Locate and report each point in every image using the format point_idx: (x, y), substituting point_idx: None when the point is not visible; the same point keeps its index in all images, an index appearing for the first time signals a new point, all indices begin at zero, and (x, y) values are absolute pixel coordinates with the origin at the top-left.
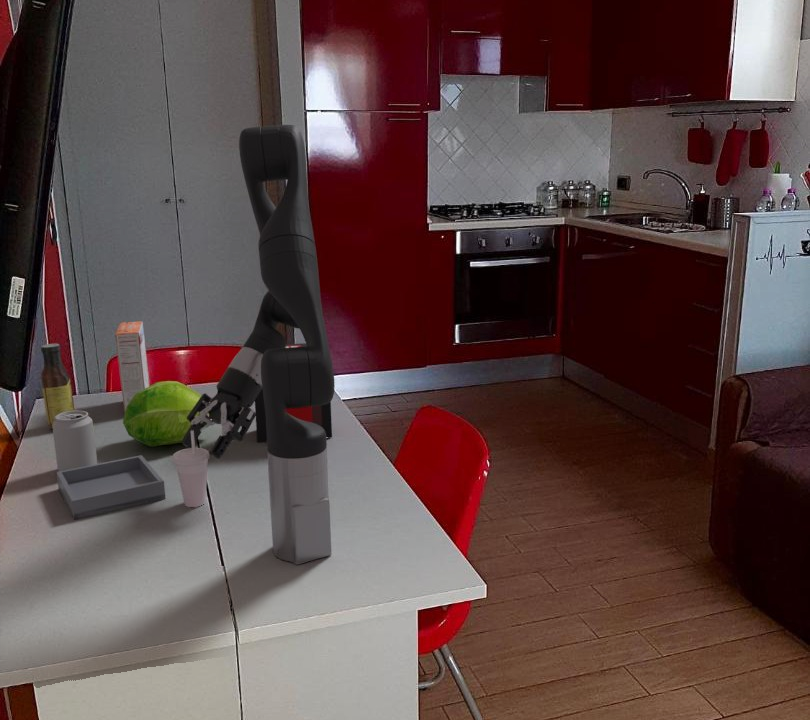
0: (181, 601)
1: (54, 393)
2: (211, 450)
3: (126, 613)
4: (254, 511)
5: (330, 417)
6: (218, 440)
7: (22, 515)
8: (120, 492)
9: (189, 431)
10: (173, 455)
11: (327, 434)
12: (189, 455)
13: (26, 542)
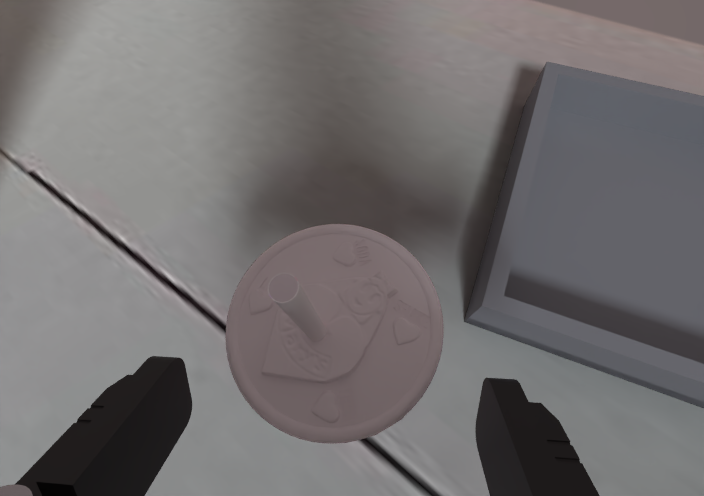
0: (35, 63)
1: None
2: (162, 365)
3: (101, 6)
4: None
5: None
6: (92, 436)
7: (643, 54)
8: (515, 172)
9: (535, 460)
10: (394, 242)
11: None
12: (305, 286)
13: (484, 13)
